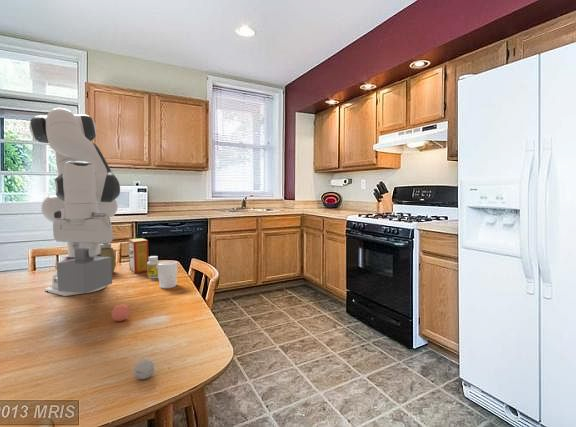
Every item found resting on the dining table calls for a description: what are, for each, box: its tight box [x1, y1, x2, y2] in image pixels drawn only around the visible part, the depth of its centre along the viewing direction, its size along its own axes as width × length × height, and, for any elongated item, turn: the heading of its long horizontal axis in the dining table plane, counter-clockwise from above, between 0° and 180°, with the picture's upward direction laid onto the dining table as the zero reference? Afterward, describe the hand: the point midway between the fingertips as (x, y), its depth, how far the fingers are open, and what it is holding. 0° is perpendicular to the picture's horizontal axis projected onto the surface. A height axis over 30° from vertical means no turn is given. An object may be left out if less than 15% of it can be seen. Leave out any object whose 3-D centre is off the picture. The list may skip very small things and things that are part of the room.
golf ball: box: [133, 358, 155, 380], centre depth 67 cm, size 4×4×4 cm
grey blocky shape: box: [56, 248, 113, 294], centre depth 99 cm, size 10×10×12 cm
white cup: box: [157, 260, 178, 289], centre depth 131 cm, size 8×8×10 cm
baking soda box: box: [127, 237, 150, 275], centre depth 156 cm, size 10×6×16 cm
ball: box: [110, 304, 131, 322], centre depth 96 cm, size 5×5×5 cm
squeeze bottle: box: [100, 242, 117, 274], centre depth 151 cm, size 8×8×18 cm
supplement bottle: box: [146, 255, 160, 279], centre depth 145 cm, size 5×5×10 cm
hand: (84, 256), depth 98 cm, fingers closed on grey blocky shape, 3 cm apart
